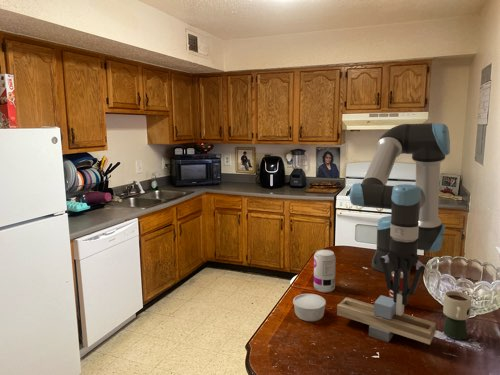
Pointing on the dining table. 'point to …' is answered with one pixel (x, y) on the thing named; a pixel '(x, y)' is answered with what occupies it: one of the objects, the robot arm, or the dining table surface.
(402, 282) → the soda can
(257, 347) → the dining table surface
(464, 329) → the character mug
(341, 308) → the beam
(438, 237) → the robot arm
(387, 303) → the block
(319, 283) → the supplement can
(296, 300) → the ramekin
